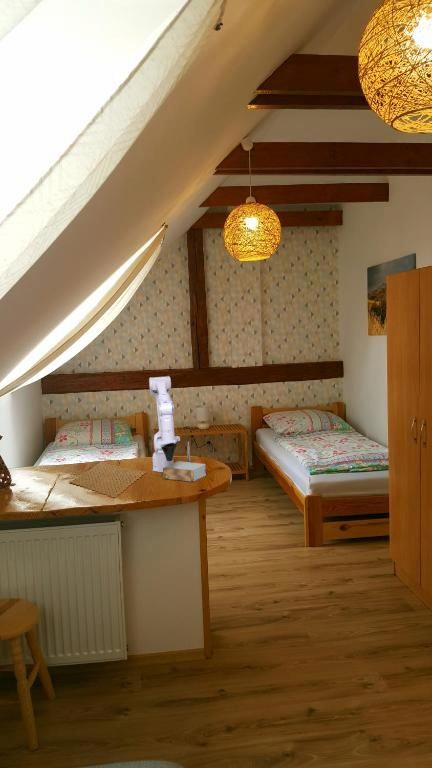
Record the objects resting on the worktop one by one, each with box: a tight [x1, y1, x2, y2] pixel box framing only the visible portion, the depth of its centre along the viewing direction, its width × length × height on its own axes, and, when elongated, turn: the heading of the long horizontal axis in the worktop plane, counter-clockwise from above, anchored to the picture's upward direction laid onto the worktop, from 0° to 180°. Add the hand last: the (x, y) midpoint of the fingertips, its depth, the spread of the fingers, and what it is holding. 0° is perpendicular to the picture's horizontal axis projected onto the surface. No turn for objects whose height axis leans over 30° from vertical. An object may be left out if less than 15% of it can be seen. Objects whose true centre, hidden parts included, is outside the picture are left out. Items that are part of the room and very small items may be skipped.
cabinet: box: [165, 460, 207, 482], centre depth 255 cm, size 15×10×5 cm, turn 59°
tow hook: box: [186, 441, 205, 464], centre depth 270 cm, size 8×13×9 cm
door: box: [162, 468, 195, 483], centre depth 249 cm, size 15×2×5 cm, turn 62°
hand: (169, 460), depth 246 cm, fingers closed
